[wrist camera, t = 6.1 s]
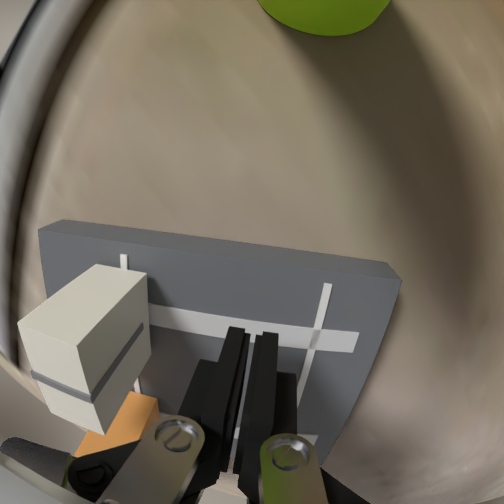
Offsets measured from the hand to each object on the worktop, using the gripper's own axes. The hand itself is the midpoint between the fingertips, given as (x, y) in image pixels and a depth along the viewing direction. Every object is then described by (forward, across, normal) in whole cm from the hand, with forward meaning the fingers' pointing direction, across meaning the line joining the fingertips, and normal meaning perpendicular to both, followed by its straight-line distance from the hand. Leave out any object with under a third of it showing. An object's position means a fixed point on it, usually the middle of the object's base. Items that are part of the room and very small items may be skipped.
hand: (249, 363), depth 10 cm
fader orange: (+2, +6, +7) cm, 9 cm away
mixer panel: (+4, +3, +4) cm, 6 cm away
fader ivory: (+2, +6, 0) cm, 6 cm away
